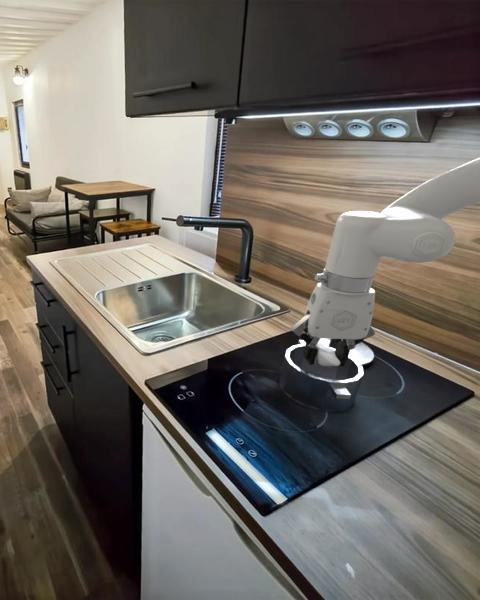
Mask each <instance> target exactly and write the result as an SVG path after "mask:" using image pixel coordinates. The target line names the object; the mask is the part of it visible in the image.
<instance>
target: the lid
mask: <svg viewBox="0 0 480 600" xmlns="http://www.w3.org/2000/svg"><path fill="white" fill-rule="evenodd" d="M338 342H341V339H325V338H321V339H320V340H319V342H318V343H321V344H323V345H324V346H327V347H331V348H334V349H336V346H337V343H338ZM349 356H351V357H353V358H354V359H356V360H357V361H358V362H359V364H360V365H361V366H362V367H364V366H368V365H370V364H371V363H372V362H374V359H375V353H374V351H373V350H372V349H371V347H369V346H368V345H367V344H366V343H364V342H363V341H362V342H361V343H359V344H357V345H355V348H354V349H352V350H350V352H349Z"/></svg>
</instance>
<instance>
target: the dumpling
mask: <svg viewBox="0 0 480 600" xmlns="http://www.w3.org/2000/svg"><path fill="white" fill-rule="evenodd" d="M316 347H317V349H318V351H317V355H316V358H315V360H316V361H317V362H318V363H319V364H320V365H322V366H338V365H340V361H339V359H337V357H336V355H335V352H334V350H333V349H331V348H329V347H327V346H324V345H323V344H321V343H317V345H316Z"/></svg>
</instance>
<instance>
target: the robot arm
mask: <svg viewBox="0 0 480 600" xmlns="http://www.w3.org/2000/svg"><path fill="white" fill-rule="evenodd" d="M476 205H480V157H478V158H476V159H473V160H470V161H468V162H466V163H464V164H462V165H460V166H457V167H455V168H453V169H450V170H448V171H446V172H443V173H441V174H439V175H436V176H434V177H433V178H431V179H429V180H427V181H425V182H423V183H421V184H419V185H418V186H417V187H414V188H413V189H412V190H410V191H408V192H407V193H405V194H404V195H403V196H401V197H399V198H398V199H396V200H395V201H393V202H392V203H391V204H390V205H388V206H387V207H386V208H384V209H383V210H382V211H381V212H380V213H379V212H375V211H367V210H353V211H347V212H344V213H342V214H340V215H339V216H338V218H337V219H336V222H335V225H334V229H333V234H332V238H331V242H330V246H329V250H328V254H327V258H326V262H325V266H324V268H323V269H322V273H316V274H315V275H314V280H315V282H317V284H316V285H315V287H314V289H313V291H312V293H311V295H310V297H309V299H308V303H307V305H306V309H305V311H304V314H303V317H302V318H301V319H299V320H298V321H297V322H296V323H294V324H293V325H292V326H291V328H290V330H291V332H293V333H294V334H295V335H296V336H298V337H299V338H300V339H301V340H303V341H304V342H305V343H306V344H305V348H304V352H303V356H304V358H305V359H306V360H307V362H308V363H309V365H313V364H314V362H315V358H316V355H317V351H318V349H317V347H316V345H317V343H318V342H319V340H320V339H321V338H325V339H341V342H338V343H337V346H336V349H335V355H336V357H337V359H339V361H340V366H344V364H345V361H346V360H347V359H348V356H349V352H350V350H352V349H354V348H355V345H357V344H359V343H361V342H362V343H363V342H364V340H367V339H369V338H371V337H373V336H375V335H376V332H375V330H374V329H373V327H372V326H371V324H372V322H373V321H372V320H373V316H374V310H375V301H376V299H375V298H376V290H375V289H373V288H372V285H373V281H374V279H375V275H376V271H377V269H378V266H379V264H380V263H379V262H380V260H381V258H383V259H390V260H395V261H401V262H407V263H415V264H416V263H417V264H419V263H430V262H433V261H437V260H439V259H441V258H443V257H444V256H446V255H448V254H449V253H450V252H451V251H452V249H453V248H454V246H455V244H456V239H457V238H456V237H457V236H456V232H455V230H454V228H453V227H452V226H451V225H450V224H449V223H448V222H446V220H443V219H444V218H446V217H447V216H449V215H451V214H454V213H456V212H458V211H460V210H463V209H466V208H469V207H472V206H476ZM306 328H307V332H305V330H304V329H306Z"/></svg>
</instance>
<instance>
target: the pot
mask: <svg viewBox="0 0 480 600" xmlns="http://www.w3.org/2000/svg"><path fill="white" fill-rule="evenodd" d="M305 344H306V343H305V342H304V341H303V340H302V339H298V343H297V344H294V345H292V346H290V347H289V348H287V349H286V350H285V355H284V359H283V363H282V368H281V372H280V375H279V380H278V384H279V387H280V389H281V391H282V392H283V394H284V395H285V396H286V397H287V398H289V399H290V400H292V401H293V402H294V403H297V404H298V405H300V406H302V407H305V408H307V409H310V410H312V411H316V412H321V413H331V414H335V413H336V414H337V413H343V412H346V411H347V410H349V409H350V408H352V406H353V405H354V403H355V401H356V398H357V396H358V393H359V390H360V388H361V387H360V386H361V384H362V381H363V378H364V376H365V374H364V366H361V365H360V364H359V362H358V361H357V360H356V359H354V358H353V357H351V356H348V359H347V360H346V361H345V364H344V366H340V365H338V366H322V365H320V364H319V363H318V362H317V361H316V360H315V362H314V364H313V365H309V363H308V362H307V360H306V359H305V358H304V356H303V352H304V348H305ZM329 348H331V347H329ZM331 349H333V350H334V352H335V349H334V348H331Z"/></svg>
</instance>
